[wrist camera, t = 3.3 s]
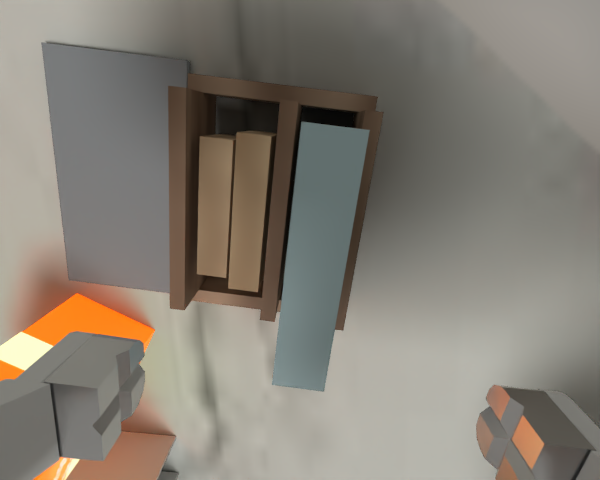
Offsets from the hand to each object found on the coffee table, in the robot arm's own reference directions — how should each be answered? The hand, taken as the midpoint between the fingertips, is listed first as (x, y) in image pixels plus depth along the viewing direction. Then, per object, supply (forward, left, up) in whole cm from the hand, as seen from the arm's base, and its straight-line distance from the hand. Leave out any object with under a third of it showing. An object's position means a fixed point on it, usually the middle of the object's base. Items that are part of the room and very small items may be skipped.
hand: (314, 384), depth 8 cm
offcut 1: (+6, 0, -20) cm, 21 cm away
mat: (+15, 0, -20) cm, 25 cm away
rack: (+3, 0, -20) cm, 20 cm away
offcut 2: (+4, 0, -20) cm, 20 cm away
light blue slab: (0, 0, -20) cm, 20 cm away
